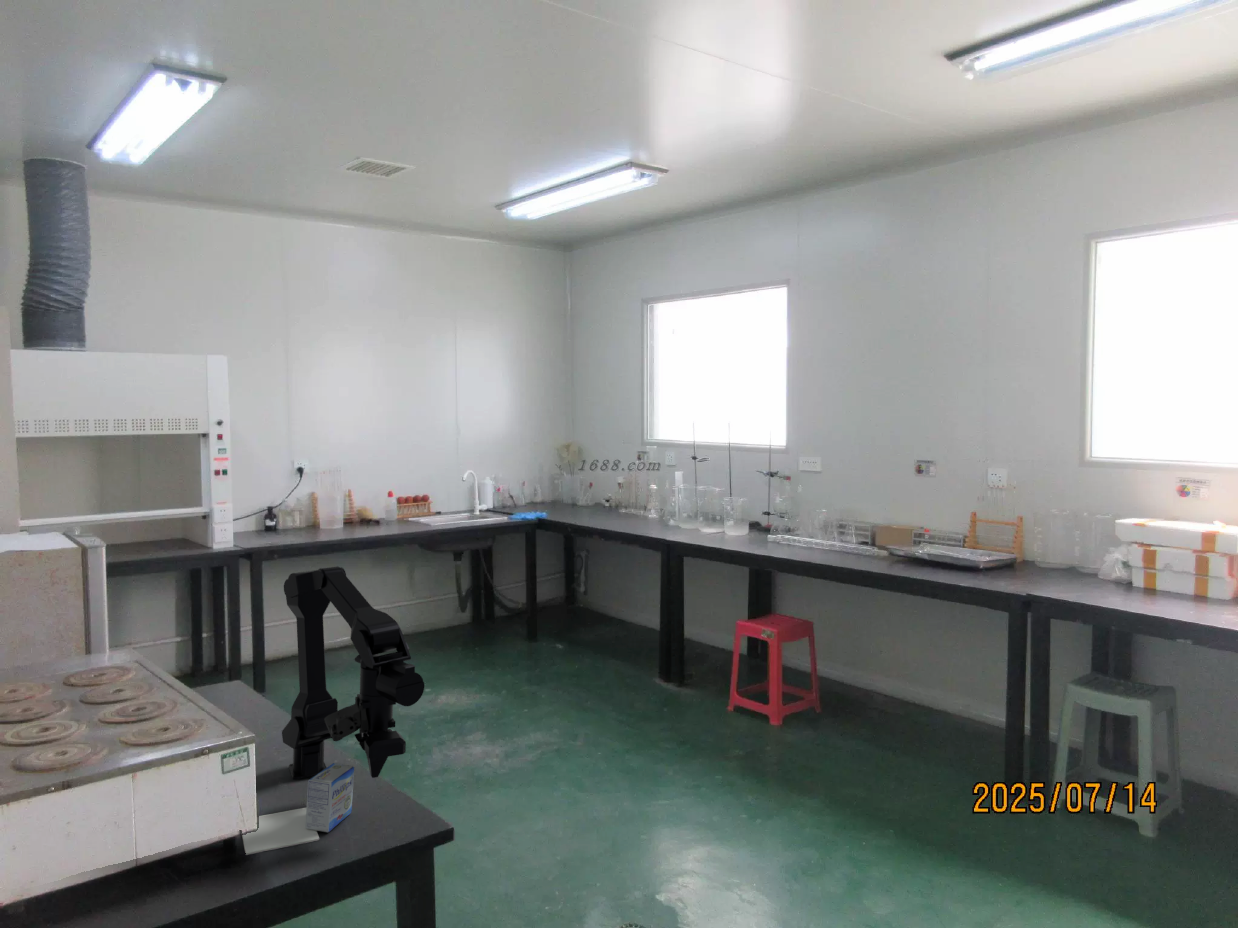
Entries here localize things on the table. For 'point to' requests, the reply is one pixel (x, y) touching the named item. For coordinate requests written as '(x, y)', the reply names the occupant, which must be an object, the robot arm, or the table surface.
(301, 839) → the mat
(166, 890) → the table surface
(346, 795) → the medicine box
